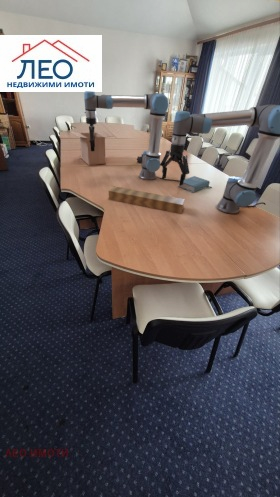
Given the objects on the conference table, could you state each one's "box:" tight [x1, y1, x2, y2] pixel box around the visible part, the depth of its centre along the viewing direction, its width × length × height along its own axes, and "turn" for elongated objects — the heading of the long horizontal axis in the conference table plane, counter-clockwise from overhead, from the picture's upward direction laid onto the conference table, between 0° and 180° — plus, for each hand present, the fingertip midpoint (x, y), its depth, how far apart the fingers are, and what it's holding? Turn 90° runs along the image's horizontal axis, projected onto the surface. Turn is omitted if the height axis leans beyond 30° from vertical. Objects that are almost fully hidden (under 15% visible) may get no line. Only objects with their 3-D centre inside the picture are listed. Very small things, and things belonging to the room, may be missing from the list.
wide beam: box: [108, 185, 186, 214], centre depth 158 cm, size 54×10×6 cm, turn 72°
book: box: [178, 175, 211, 193], centre depth 191 cm, size 23×16×5 cm
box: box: [70, 130, 114, 166], centre depth 229 cm, size 44×36×27 cm
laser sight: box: [136, 153, 143, 164], centre depth 239 cm, size 10×22×10 cm, turn 78°
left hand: (93, 149), depth 172 cm, fingers open, 13 cm apart
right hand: (172, 181), depth 135 cm, fingers open, 13 cm apart
